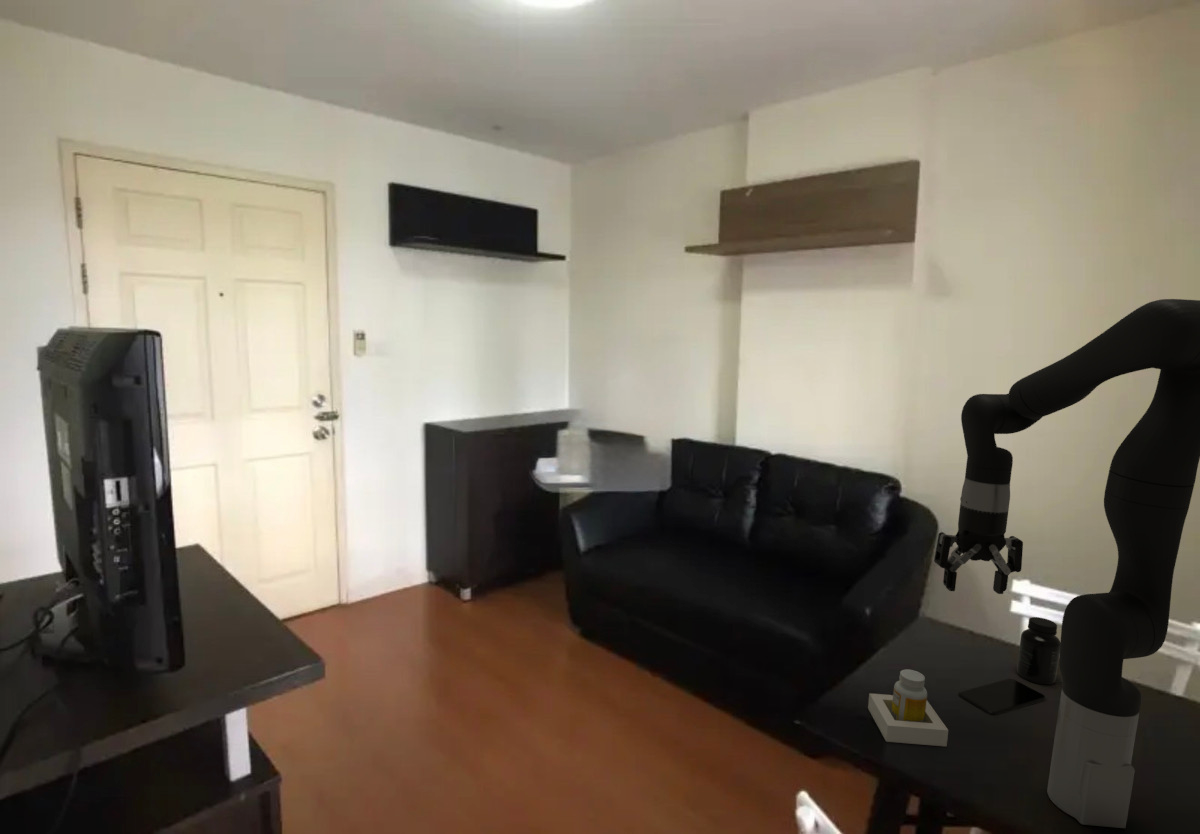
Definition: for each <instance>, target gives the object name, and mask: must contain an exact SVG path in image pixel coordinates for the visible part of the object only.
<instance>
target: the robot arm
mask: <svg viewBox="0 0 1200 834" xmlns="http://www.w3.org/2000/svg"><path fill="white" fill-rule="evenodd" d="M1147 369H1156V370H1157V369H1158V370H1160V371H1159V376H1158V379H1157V385H1156V388H1155V392H1154V395H1153V398H1152V400H1151V402H1150V404H1149V406H1148V408H1147V409H1146V411H1145V412H1144V414H1143V415H1142V416H1141V417H1140V419H1139V420H1138V421H1137V423H1136V424H1135V425H1134V427H1132V429H1131V430H1130V432H1129V433H1128V434H1127V435H1126V437H1125V438H1124V439H1123V440H1122V442H1121V443H1120V444H1119V446H1118V447H1117V449H1116V451H1115V453H1114V454H1113V457H1112V459H1111V462H1110V465H1109V466H1110V467H1109V470H1108V475H1107V478H1106V479H1107V480H1106V482H1105V483H1106V485H1105V490H1104V495H1103V509H1104V512H1105V517H1106V520H1107V522H1108V526H1109V528H1110V530H1111V532H1112V535H1113V538H1114V541H1115V544H1116V548H1117V564H1116V570H1115V574H1114V575H1115V576H1114V579H1113V583H1112V585H1111V587H1110V588H1111V589H1110V590H1109V592H1100V593H1098V592H1097V593H1087V594H1081V595H1080V594H1079V595H1077V596H1075V597H1073V598H1072V599H1071V600H1070V601H1068V603H1067V604H1066V605H1067V606H1066V607H1065V610H1064V613H1063V616H1062V620H1061V631H1060V633H1061V634H1060V654H1059V661H1058V666H1059V670H1060V674H1061V678H1062V685H1061V686H1062V687H1061V691H1060V692H1061V693H1060V699H1059V706H1058V712H1057V713H1058V714H1057V719H1056V724H1055V725H1056V727H1055V731H1054V732H1055V733H1054V740H1053V741H1054V742H1053V746H1052V752H1051V753H1052V754H1051V755H1052V756H1051V759H1050V768H1049V769H1050V770H1049V776H1048V783H1047V788H1046V789H1047V790H1046V792H1047V796H1048V798H1049V799H1050V800H1051V802H1052V803H1053V804H1054V805H1055V806H1056V807H1057V808H1058V809H1060V811H1063V812H1064V813H1065V814H1067V815H1069V816H1071V817H1073V818H1074V819H1075V820H1077V822H1078V823H1079V824H1080V825H1084V826H1093V827H1094V826H1096V827H1106V828H1107V827H1108V828H1114V829H1115V828H1116V829H1119V828H1120V829H1126V827H1127V826H1126V825H1127V821H1128V815H1129V809H1130V803H1131V802H1130V801H1131V796H1132V791H1133V786H1134V785H1133V784H1134V777H1135V772H1136V771H1135V768H1134V766H1132V758H1133V752H1134V748H1135V747H1134V746H1135V740H1136V735H1137V729H1138V724H1139V716H1140V710H1141V704H1142V693H1141V691H1140V690H1139V689H1138V687H1137V686H1136V685H1135V684H1134V683H1133V682H1131V681H1130V680H1128V679H1126V678H1124V677H1123V667H1124V666H1123V665H1124V660H1129V659H1139V658H1145V657H1149V656H1152V655H1154V654H1155V653H1157V652H1158V651H1159V650H1160V649H1161V648H1162V647H1163V645H1164V643H1165V641H1166V636H1167V634H1168V628H1169V622H1170V611H1171V601H1172V600H1171V599H1172V587H1173V579H1174V571H1175V567H1176V563H1177V560H1178V559H1177V558H1178V554H1179V550H1180V546H1181V545H1180V544H1181V539H1182V535H1183V529H1184V525H1185V522H1186V519H1187V515H1188V512H1189V508H1190V504H1191V500H1192V497H1193V492H1194V489H1195V483H1196V479H1197V472H1198V467H1199V463H1200V300H1198V299H1185V298H1184V299H1181V298H1167V299H1166V298H1164V299H1157V300H1152V301H1149V302H1146V303H1145V304H1142V305H1141V306H1139V307H1138V308H1136V309H1135V310H1133V311H1131V312H1130V313H1128V314H1127V315H1126V316H1124V317H1122V318H1121V319H1120V320H1119V321H1117V322H1116V323H1114V324H1113V325H1111V326H1110V327H1109V328H1107V329H1106V330H1104V331H1103V332H1101V333H1100V334H1099V335H1097V336H1096V337H1094V338H1093V339H1092V340H1090V341H1089V342H1087V343H1086V344H1084V345H1083V346H1081V347H1079V348H1078V349H1076V350H1075V351H1073V352H1072V353H1070V354H1068V355H1066V356H1065V357H1063V358H1061V359H1059V360H1057V361H1055V362H1053V363H1051V364H1049V365H1048V366H1045V367H1043V368H1040V369H1038V370H1036V371H1035V372H1033V373H1032V372H1031V374H1029V375H1027V376H1024V377H1022V378H1021V379H1019V380H1017V381H1016V382H1015V383H1013V384H1012V385H1011V387H1010V389H1009V392H1008V393H1006V394H1003V393H978V394H974V395H972V396H970V397H969V398H968V399H967V400H966V402H965V403H964V405H963V407H962V410H961V414H960V417H961V418H960V419H961V420H960V421H961V427H962V433H963V438H964V444H965V449H966V455H967V458H966V466H965V475H964V481H963V484H962V488H961V494H960V504H959V513H958V520H957V521H958V522H957V527H958V528H957V532H956V534H955V535H953V534H946V532H943V531H942V532H939V533H938V537H937V542H936V547H935V554H934V560H933V562H934V563H935V564H936V565H938V566H939V567H940V568H941V569H944V571H943V580H942V584H943V586H945V588H946V589H947V590H948V591H949V592H955V591H956V583H957V576H958V575H957V574H958V572H957V570H958V569H960V568H961V566H962V565H965V564H966V563H967V562H968V561H969V560H970V561H974V562H976V561H984V562H992V563H993V564H994V566H995V567H996V569H997V570H995V571H994V577H993V584H992V585H993V586H992V589H993V591H994V592H995V593H996V594H998V595H1003V594H1004V592H1005V591H1006V590H1007V589H1008V580H1009V575H1010V574H1012V573H1014V572H1016V573H1020V572H1021V571H1022V564H1023V549H1024V547H1023V546H1024V542H1023V540H1021V539H1020V538H1018V537H1017V536H1014V535H1011V536H1009V537H1005V534H1006V532H1007V526H1008V518H1009V511H1010V510H1009V508H1010V500H1011V478H1012V471H1013V470H1012V469H1013V463H1014V461H1013V454H1012V452H1011V451H1010V450H1008V449H1006V448H1003V447H999V446H997V442H996V437H995V436H996V435H1008V434H1015V433H1021V432H1022V431H1024V430H1027V429H1029V428H1030V427H1032V426H1033V425H1035V424H1036V423H1037V422H1038V421H1040V420H1042V418H1043V417H1046V416H1049V415H1051V414H1054V413H1056V412H1059V411H1061V410H1064V409H1066V408H1069V407H1070V406H1073V405H1075V404H1077V403H1079V402H1081V401H1082V400H1084V399H1085V398H1086V397H1087V396H1089V395H1090V394H1091V393H1092V392H1093V391H1094V390H1095V389H1097V388H1098V386H1100V385H1101V384H1103V383H1105V382H1107V381H1108V380H1112V379H1113V378H1114V379H1115V378H1117V377H1119V376H1122V375H1127V374H1131V373H1133V372H1139V371H1144V370H1147ZM954 543H955V544H956V545H957V546H956V547H955V548H954V550H953V551H952V552H951V553H950V549H951V548H952V547H953V546H954ZM1005 547H1006V549H1007V561H1006V560H1005V559H1004V557H1003V555H1002V554H1001V553H1000V552H1001V551H1002V550H1003V548H1005ZM949 555H950V556H949Z"/></svg>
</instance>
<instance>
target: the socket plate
mask: <svg viewBox="0 0 1200 834" xmlns="http://www.w3.org/2000/svg"><path fill="white" fill-rule="evenodd" d="M868 695H869V696H868V703H867V704H868V705H867V709H868V711H869V713H870V714H871V715H870V716H871V717H872V718H873V721H874V722H875V724H876V726H877V727H878V729H879V731H880V733H881V735H882V737H883V738H884V740H885V742H886V743H897V744H900V743H901V744H912V745H923V746H924V745H925V746H934V747H935V746H936V747H946V748H947V747H948V746H947V744H948V738H949V729H948V728H947V726H946V725H945V723H944V722H943V721H942V719H941V718H940V716H939V715H938V714H937V712H936V711H935V709H934V708H933V707H932V705H931V704H930V702H929V701H928V700H927V701H926V709H925V718H924V723H922V722H909V721H897V720H894V718H893V716H892V715H891V709H892V701H893V694H892V695H891V694H882V693H869V694H868Z"/></svg>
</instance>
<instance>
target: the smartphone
mask: <svg viewBox="0 0 1200 834" xmlns="http://www.w3.org/2000/svg"><path fill="white" fill-rule="evenodd" d="M957 696H958V698H961V699H962V700H964V701H965V702H967V703H969V704H971V705H974V707H975V708H978V709H979V710H980V711H983V712H984V713H985V714H988V715H990V716H998V715H1001V714H1006V713H1008V712H1011V711H1014V710H1018V709H1022V708H1025V707H1028V706H1031V705H1035V704H1038V703H1042V702H1045V701H1046V700H1047V697H1046V696H1045V695H1044V694H1042V692H1039V691H1037V690H1035V689H1033V688H1031V687H1029V686H1028V685H1026V684H1024V683H1022V682H1020V681H1017V679H1014V678H1010V677H1009V678H1004V679H1000V680H997V681H993V682H990V683H987V684H982V685H980V686H976V687H971V688H969V689H964V690H961V691H958V692H957Z"/></svg>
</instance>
